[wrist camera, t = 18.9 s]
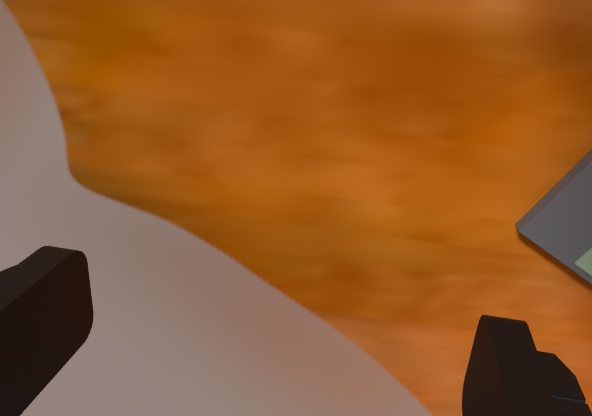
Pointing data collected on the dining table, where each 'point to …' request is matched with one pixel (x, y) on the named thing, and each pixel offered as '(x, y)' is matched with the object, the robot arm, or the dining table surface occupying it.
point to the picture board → (565, 220)
